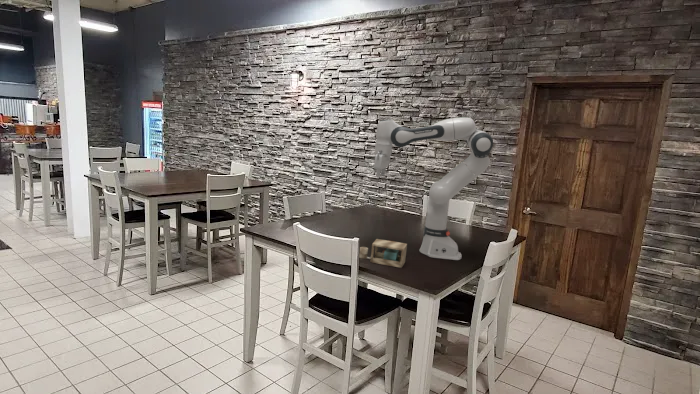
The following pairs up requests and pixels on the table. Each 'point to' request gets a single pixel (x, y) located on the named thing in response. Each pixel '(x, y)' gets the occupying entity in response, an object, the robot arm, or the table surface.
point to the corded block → (388, 254)
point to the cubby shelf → (392, 246)
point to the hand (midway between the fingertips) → (380, 176)
